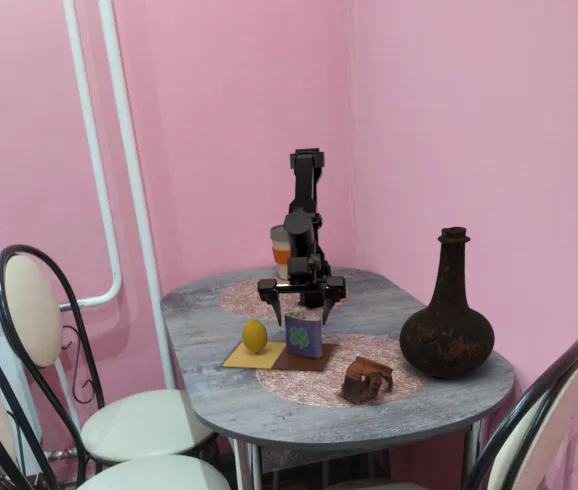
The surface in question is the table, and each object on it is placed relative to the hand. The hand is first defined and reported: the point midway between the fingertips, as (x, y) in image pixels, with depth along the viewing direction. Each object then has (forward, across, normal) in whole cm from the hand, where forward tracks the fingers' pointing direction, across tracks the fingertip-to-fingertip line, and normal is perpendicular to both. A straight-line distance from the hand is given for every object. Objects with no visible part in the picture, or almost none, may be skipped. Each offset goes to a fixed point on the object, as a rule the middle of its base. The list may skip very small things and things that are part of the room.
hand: (301, 325), depth 127 cm
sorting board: (+4, -6, +7) cm, 10 cm away
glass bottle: (+10, +29, +1) cm, 31 cm away
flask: (+4, 0, +7) cm, 8 cm away
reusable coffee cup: (-40, -8, +52) cm, 66 cm away
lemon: (+3, -11, +8) cm, 14 cm away
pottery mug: (+18, +13, -7) cm, 24 cm away
